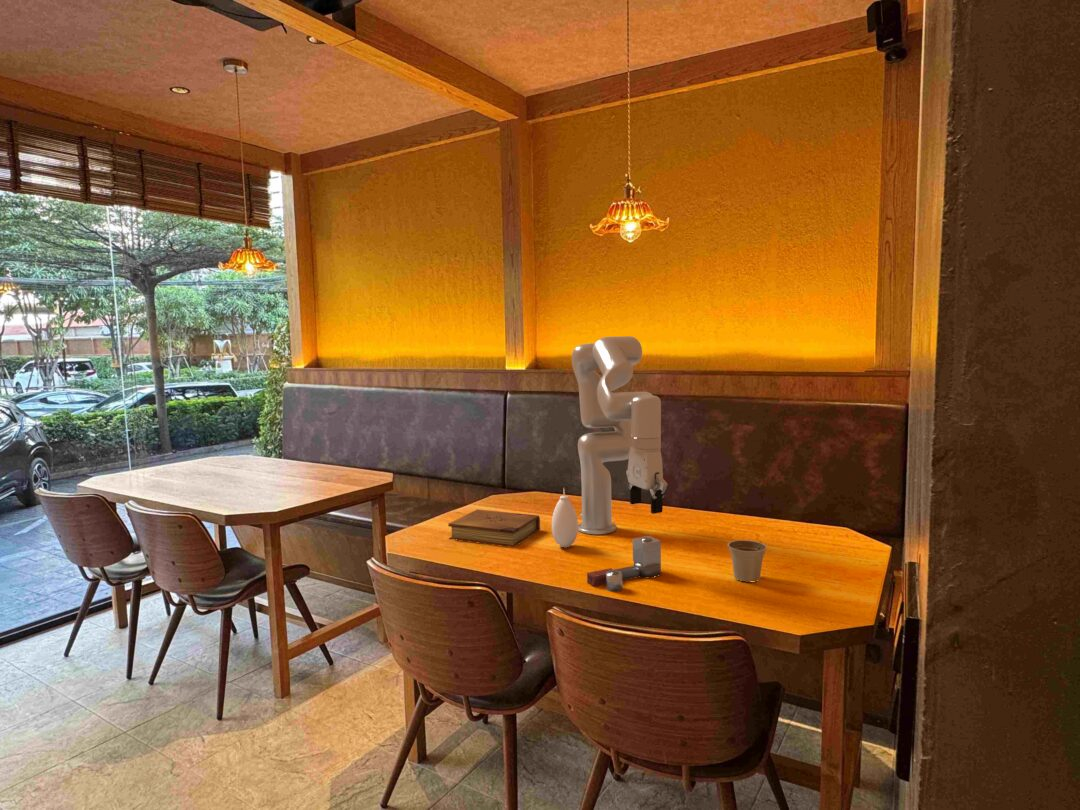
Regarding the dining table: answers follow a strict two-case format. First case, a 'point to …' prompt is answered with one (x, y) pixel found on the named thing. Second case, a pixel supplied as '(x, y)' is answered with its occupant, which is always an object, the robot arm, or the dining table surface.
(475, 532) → the diary
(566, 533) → the white air blower bulb
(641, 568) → the ratchet
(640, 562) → the socket
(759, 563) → the flower pot
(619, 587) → the socket
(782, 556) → the dining table surface
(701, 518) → the dining table surface
